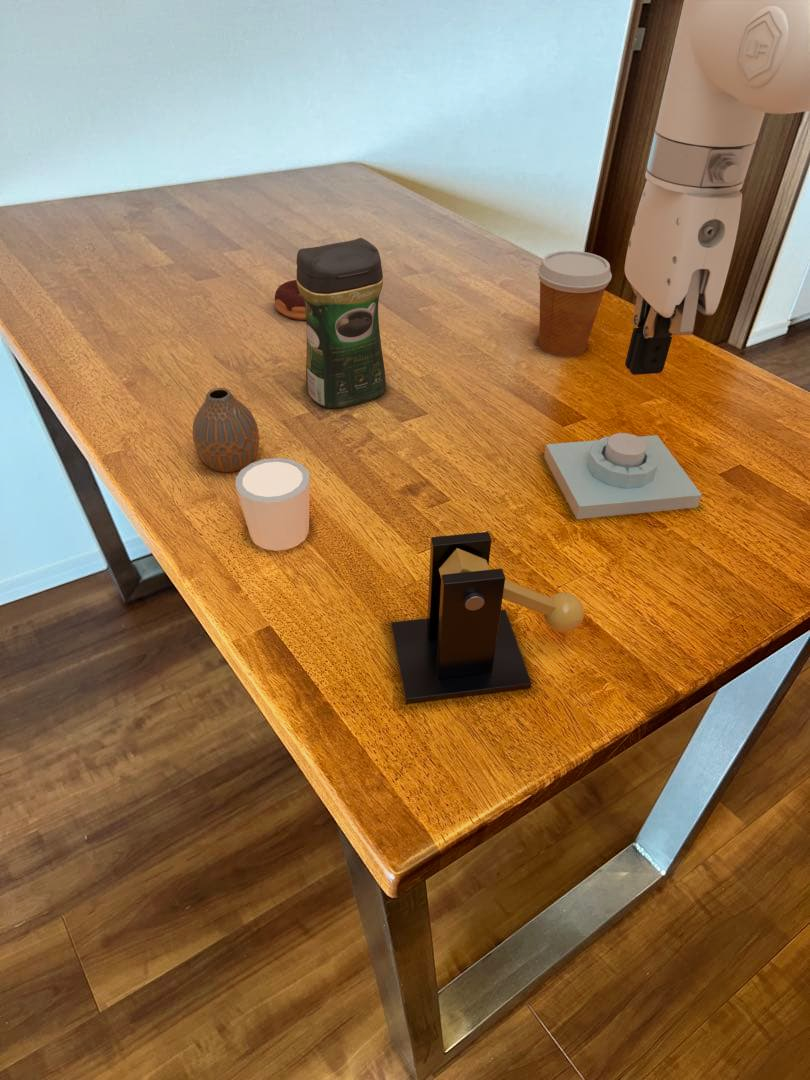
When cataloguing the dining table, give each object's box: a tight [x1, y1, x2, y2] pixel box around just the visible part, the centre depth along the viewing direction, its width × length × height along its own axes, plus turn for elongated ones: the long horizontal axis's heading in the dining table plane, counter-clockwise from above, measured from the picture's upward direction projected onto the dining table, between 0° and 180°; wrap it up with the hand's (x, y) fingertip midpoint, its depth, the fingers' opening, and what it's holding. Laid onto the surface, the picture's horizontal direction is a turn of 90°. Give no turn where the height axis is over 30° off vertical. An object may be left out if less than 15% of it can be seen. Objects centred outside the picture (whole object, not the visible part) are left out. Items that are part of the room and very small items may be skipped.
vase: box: [192, 387, 260, 473], centre depth 78 cm, size 7×7×9 cm
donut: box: [274, 279, 306, 321], centre depth 109 cm, size 10×10×4 cm
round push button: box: [604, 432, 647, 468], centre depth 76 cm, size 4×4×2 cm
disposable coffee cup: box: [537, 250, 613, 357], centre depth 98 cm, size 10×10×12 cm
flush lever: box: [439, 548, 585, 634], centre depth 56 cm, size 13×3×3 cm
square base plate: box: [543, 434, 703, 520], centre depth 77 cm, size 13×11×4 cm
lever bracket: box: [390, 531, 532, 705], centre depth 56 cm, size 10×8×12 cm
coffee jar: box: [295, 237, 387, 410], centre depth 86 cm, size 10×8×19 cm
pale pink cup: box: [235, 457, 311, 552], centre depth 70 cm, size 7×7×7 cm
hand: (643, 369), depth 70 cm, fingers closed
